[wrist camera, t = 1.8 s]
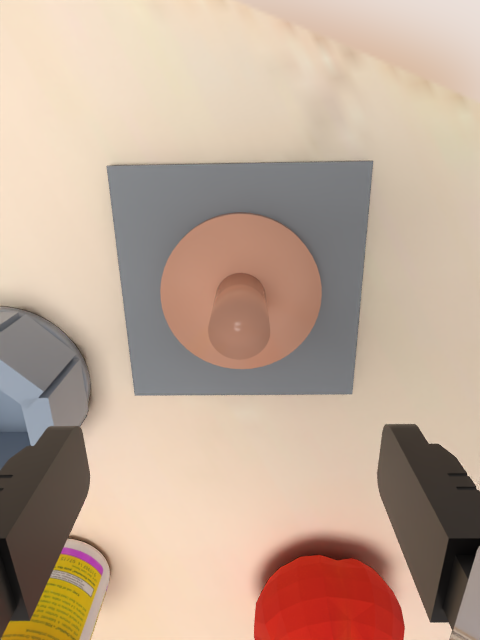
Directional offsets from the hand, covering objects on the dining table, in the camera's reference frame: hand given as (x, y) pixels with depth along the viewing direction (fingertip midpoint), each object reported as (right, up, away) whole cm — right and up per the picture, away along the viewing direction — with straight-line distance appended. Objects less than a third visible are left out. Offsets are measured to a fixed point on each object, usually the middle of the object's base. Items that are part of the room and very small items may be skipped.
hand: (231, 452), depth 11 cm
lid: (0, +5, +14) cm, 15 cm away
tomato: (+7, -18, +23) cm, 30 cm away
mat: (0, +5, +14) cm, 15 cm away
